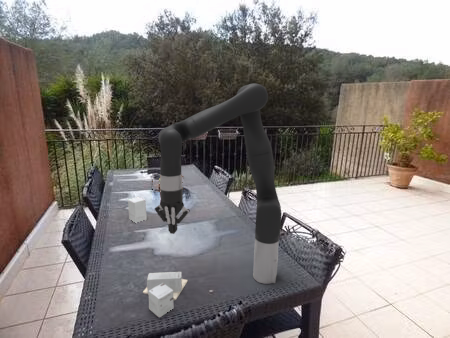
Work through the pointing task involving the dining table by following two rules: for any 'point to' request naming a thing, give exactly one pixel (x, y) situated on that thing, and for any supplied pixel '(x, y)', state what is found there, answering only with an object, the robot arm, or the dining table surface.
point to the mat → (175, 294)
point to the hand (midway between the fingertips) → (172, 232)
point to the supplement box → (137, 209)
